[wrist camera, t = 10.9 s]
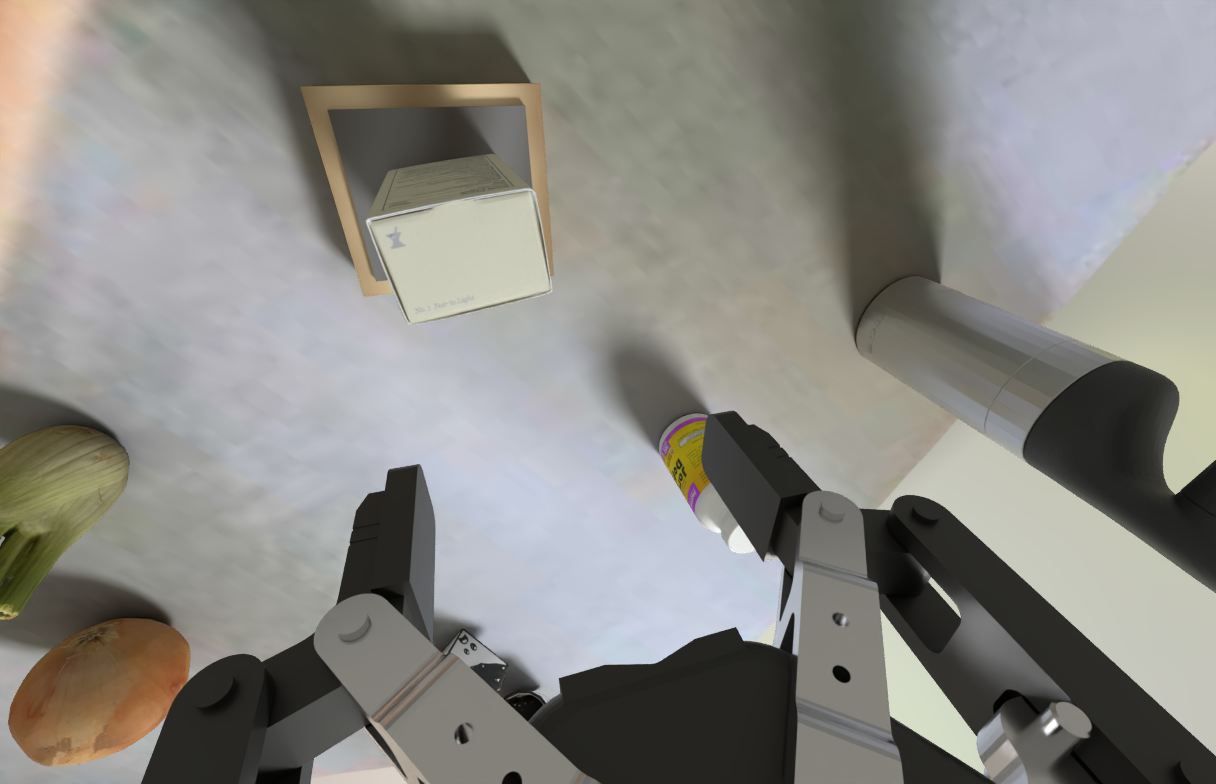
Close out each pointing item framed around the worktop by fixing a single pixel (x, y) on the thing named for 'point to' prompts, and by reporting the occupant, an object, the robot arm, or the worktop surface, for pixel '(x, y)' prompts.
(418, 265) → the skincare box
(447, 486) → the worktop surface
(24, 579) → the fennel bulb
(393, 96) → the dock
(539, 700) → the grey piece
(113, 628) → the onion
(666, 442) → the supplement bottle
